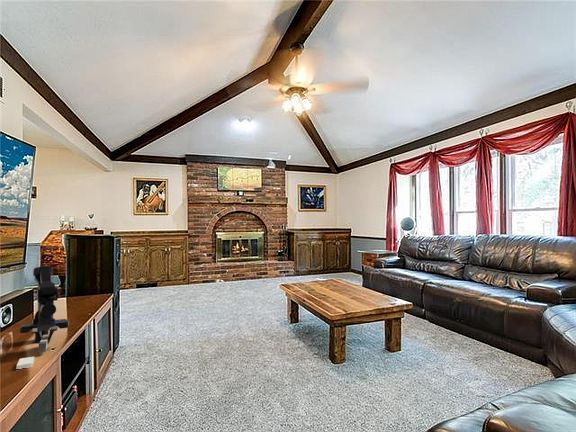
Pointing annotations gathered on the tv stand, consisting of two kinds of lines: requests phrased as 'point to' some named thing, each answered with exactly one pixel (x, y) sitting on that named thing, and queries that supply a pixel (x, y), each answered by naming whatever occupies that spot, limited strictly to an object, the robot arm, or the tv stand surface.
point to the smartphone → (59, 320)
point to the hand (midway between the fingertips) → (44, 343)
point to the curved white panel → (43, 344)
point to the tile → (25, 363)
